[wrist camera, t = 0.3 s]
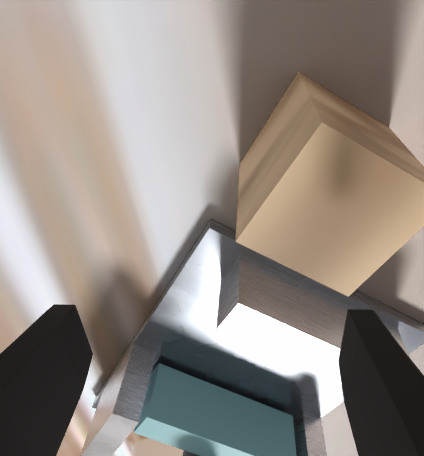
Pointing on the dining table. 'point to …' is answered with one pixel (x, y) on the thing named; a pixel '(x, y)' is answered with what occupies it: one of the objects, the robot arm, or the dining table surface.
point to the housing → (327, 189)
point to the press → (241, 340)
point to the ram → (211, 419)
